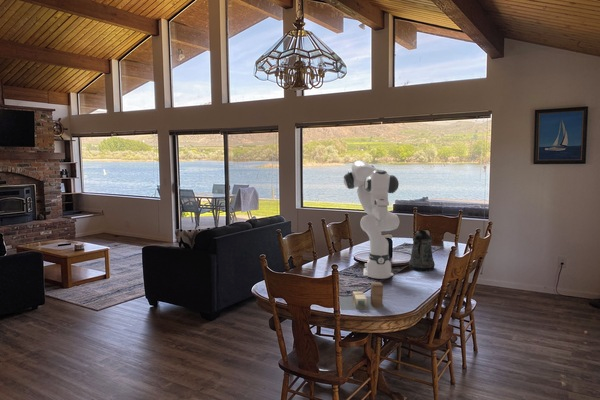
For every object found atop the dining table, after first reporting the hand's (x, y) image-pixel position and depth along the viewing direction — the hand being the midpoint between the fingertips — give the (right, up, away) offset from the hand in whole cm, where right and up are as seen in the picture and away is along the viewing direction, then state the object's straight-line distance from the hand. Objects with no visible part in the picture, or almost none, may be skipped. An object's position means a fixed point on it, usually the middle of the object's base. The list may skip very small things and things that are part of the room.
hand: (378, 226), depth 235 cm
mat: (-12, -39, -12) cm, 42 cm away
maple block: (-13, -36, -10) cm, 39 cm away
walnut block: (-4, -39, -16) cm, 42 cm away
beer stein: (+38, -32, +53) cm, 72 cm away
